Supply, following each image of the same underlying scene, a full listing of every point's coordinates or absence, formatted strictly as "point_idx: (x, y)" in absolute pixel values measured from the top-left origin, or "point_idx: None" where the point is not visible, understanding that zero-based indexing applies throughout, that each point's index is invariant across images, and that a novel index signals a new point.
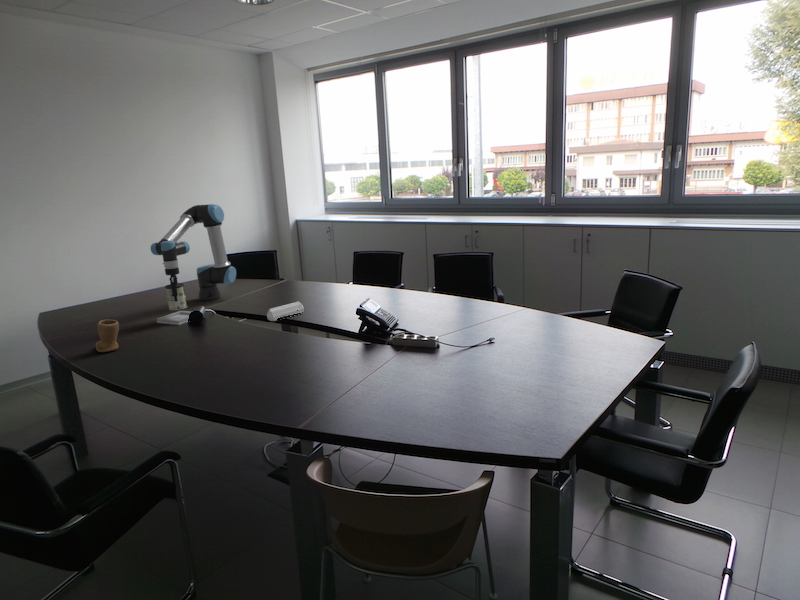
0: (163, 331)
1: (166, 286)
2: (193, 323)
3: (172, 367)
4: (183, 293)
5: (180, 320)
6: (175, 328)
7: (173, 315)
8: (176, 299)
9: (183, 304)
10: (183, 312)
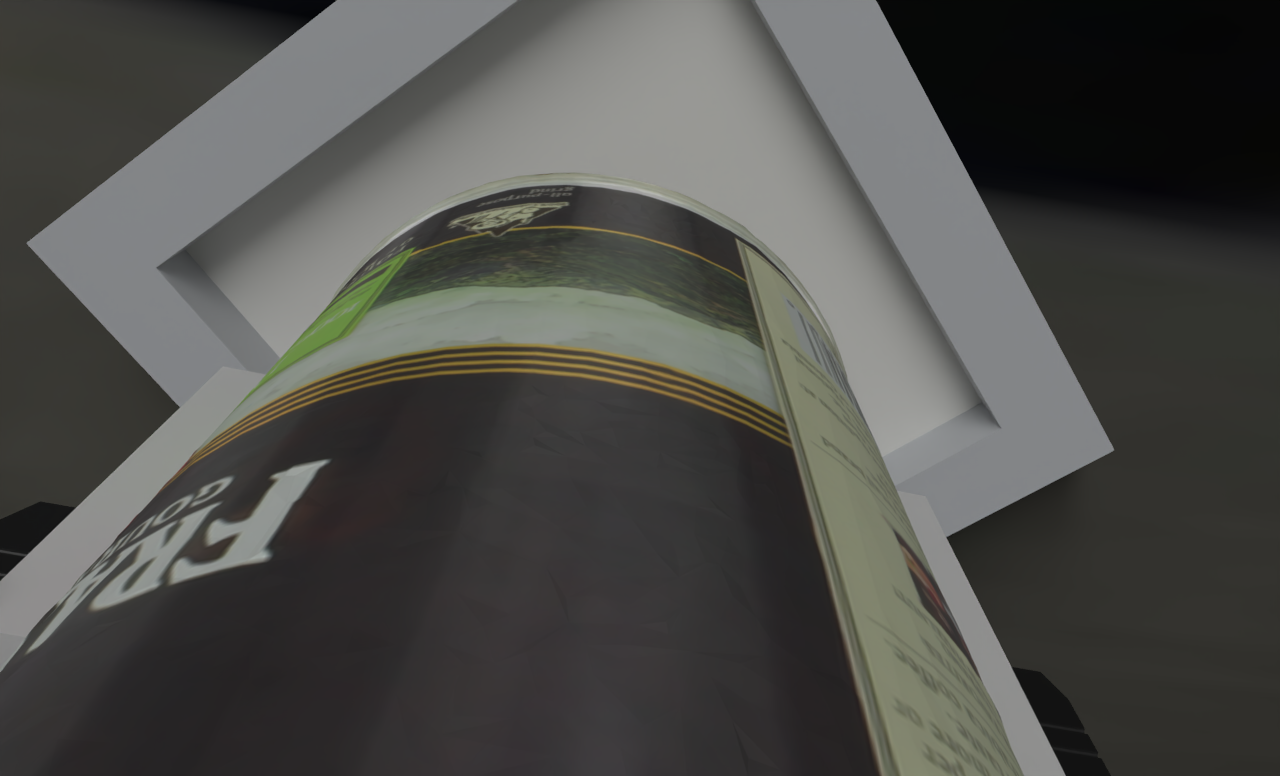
0: (1273, 688)
1: None
2: (1235, 114)
3: None
4: (859, 523)
5: (1087, 400)
6: (1276, 500)
7: None
8: (1075, 753)
9: (836, 365)
10: (244, 201)
